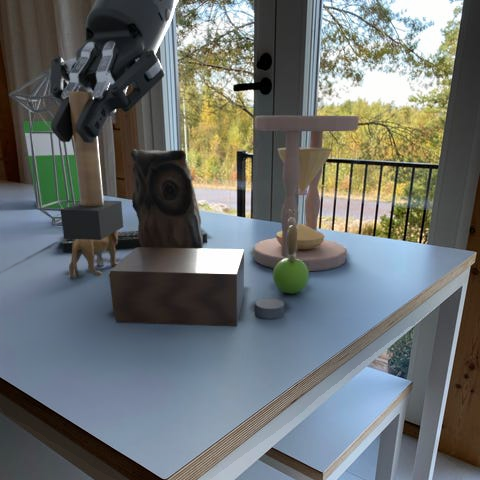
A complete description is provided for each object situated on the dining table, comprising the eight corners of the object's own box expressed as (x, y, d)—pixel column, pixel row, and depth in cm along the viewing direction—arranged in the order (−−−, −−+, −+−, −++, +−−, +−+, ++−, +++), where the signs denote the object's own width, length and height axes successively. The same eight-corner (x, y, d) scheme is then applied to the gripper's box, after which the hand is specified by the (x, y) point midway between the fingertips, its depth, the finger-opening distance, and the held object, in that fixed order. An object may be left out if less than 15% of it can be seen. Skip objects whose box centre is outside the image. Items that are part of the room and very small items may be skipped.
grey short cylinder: (284, 309, 62) (284, 319, 63) (284, 298, 66) (284, 308, 66) (254, 308, 63) (254, 318, 63) (255, 297, 66) (255, 307, 67)
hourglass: (317, 278, 79) (328, 115, 69) (234, 260, 89) (234, 115, 79) (361, 256, 92) (375, 116, 82) (284, 242, 102) (289, 116, 92)
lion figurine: (100, 258, 90) (94, 210, 87) (127, 259, 90) (122, 211, 86) (62, 282, 77) (54, 227, 74) (93, 284, 76) (86, 228, 73)
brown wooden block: (107, 321, 62) (101, 270, 59) (133, 291, 73) (129, 246, 70) (236, 326, 61) (236, 273, 58) (243, 294, 72) (243, 249, 69)
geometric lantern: (88, 231, 112) (66, 64, 98) (27, 229, 114) (-2, 65, 101) (115, 219, 126) (100, 71, 112) (61, 217, 129) (40, 72, 115)
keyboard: (197, 231, 112) (197, 223, 111) (207, 242, 102) (207, 233, 101) (64, 240, 104) (63, 231, 103) (62, 252, 94) (61, 242, 94)
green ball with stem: (305, 284, 76) (310, 209, 71) (309, 298, 70) (314, 217, 65) (271, 284, 76) (273, 209, 71) (272, 298, 70) (275, 217, 66)
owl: (203, 274, 81) (199, 150, 73) (128, 275, 81) (117, 150, 73) (205, 255, 93) (201, 146, 85) (140, 255, 92) (131, 146, 84)
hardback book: (96, 202, 152) (87, 121, 143) (98, 205, 146) (89, 121, 136) (37, 205, 146) (24, 121, 137) (37, 209, 140) (22, 121, 131)
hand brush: (63, 238, 49) (44, 89, 44) (90, 226, 56) (76, 94, 50) (100, 240, 49) (85, 89, 44) (123, 227, 55) (112, 94, 50)
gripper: (64, -14, 52) (-8, 106, 46) (174, -29, 46) (108, 105, 41) (101, 48, 58) (42, 160, 53) (201, 41, 53) (147, 165, 47)
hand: (71, 135), depth 47 cm, fingers closed on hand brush, 2 cm apart
